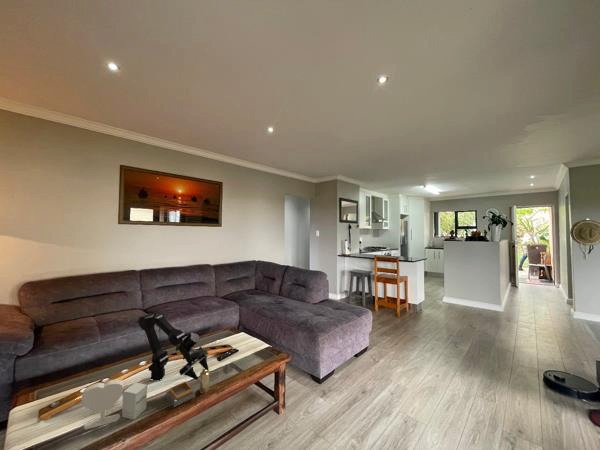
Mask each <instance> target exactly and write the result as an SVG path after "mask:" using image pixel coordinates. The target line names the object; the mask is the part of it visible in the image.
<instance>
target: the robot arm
mask: <svg viewBox="0 0 600 450" xmlns="http://www.w3.org/2000/svg"><path fill="white" fill-rule="evenodd" d="M137 323H138V325H139V327H140V329H142V330H143V331H144V332H145V335H146V338H147V341H148V343H149V347H150V349H151V352H152V357H151V364H150V365H149V366H148V367H147V368H148V371H149V372H150V379H153V380H160V379H161V381H162V380H163V378H164V377H165V375H166V368H165V366H166V365H167V363H168V362H169V357H170V356H169V354H168V351H167V350H164V349H162V346H161V343H160V340H159V338H158V335H157V332H156V328H155V324H156V326H157V327H159V328H160V330H161V331H163V333H165V334H166V335H167V337H168V341H169V342H170V343H171V345H172V346H175V347H176V348H175V351H176V352H177V351H179V352H180V354H181V355H182V356H183V357H182V360H183V361H184V360H185V361H186V364H185V365H183V366H182V367H181V368H180V369H179V370H178V372H179V373H178V374H179V375H180V376H187V377H189V378H191V379H193V380H196V381H198V379H199V377H198V375H197V374H196V371H194V365H195V364H196V363H197V362H198V364H200V365H201V367H202V368H203V369H207V370H209V371H210V369H209V366H208V357H209V352H208V351H207V350H206V348H205V346H204V345H201V346H199V347H198V349H197V350H196V349H195V348H193V347H194V346H195V345H197V344H198V343H199V341H200V336H199V334H197V333H194V332H192V331H191V332H189V334H187V333H185V332H184V331H182V330H181V329H178V328H175V327H174V326H173V325H172V324H171V323H169V322H168V320H167V319H165V317H163V314H161V313H151V312H150V313H146V314H145V315H141V316H140V317H139V318H138V320H137Z"/></svg>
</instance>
